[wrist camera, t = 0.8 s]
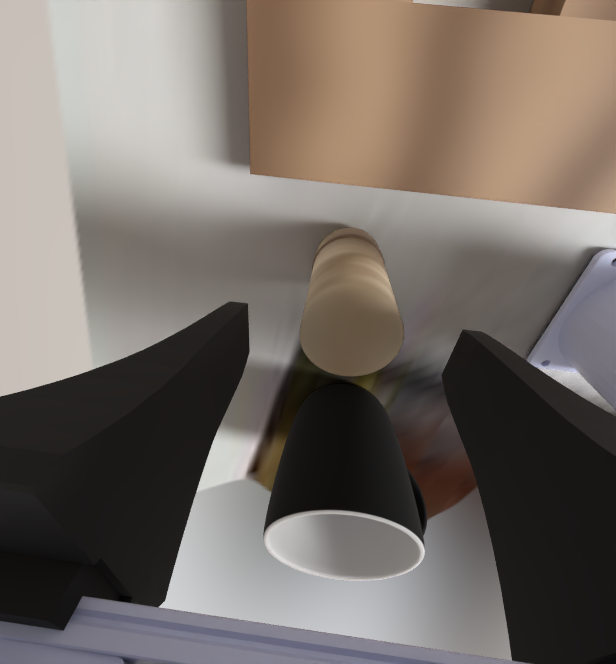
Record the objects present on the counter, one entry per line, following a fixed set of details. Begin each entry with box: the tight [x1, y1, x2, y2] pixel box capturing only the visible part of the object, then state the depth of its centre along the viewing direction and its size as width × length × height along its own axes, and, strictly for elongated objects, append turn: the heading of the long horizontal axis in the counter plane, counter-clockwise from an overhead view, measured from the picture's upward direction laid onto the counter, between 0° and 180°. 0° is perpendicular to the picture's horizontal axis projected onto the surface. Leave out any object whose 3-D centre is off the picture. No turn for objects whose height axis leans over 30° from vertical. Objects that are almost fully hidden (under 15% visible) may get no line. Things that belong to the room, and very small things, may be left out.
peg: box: [300, 228, 404, 376], centre depth 14 cm, size 4×4×8 cm
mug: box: [263, 384, 427, 581], centre depth 21 cm, size 12×9×10 cm
